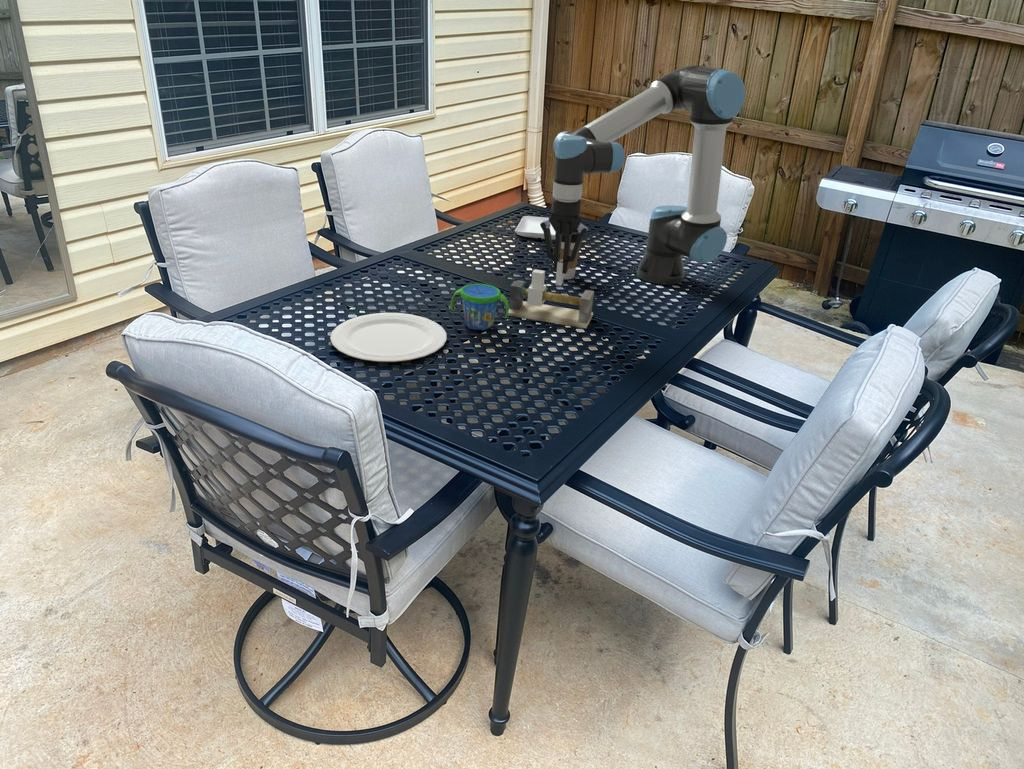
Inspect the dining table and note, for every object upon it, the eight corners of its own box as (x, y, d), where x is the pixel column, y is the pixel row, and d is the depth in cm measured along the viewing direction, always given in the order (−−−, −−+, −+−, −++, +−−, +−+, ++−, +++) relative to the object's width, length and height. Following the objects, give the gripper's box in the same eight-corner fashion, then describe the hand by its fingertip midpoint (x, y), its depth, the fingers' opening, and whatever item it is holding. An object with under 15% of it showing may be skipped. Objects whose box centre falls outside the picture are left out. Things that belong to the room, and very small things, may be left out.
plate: (396, 379, 170) (396, 372, 170) (305, 345, 183) (305, 338, 182) (469, 338, 193) (469, 331, 192) (383, 309, 206) (383, 303, 205)
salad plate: (513, 239, 270) (514, 229, 268) (523, 223, 288) (523, 214, 287) (571, 245, 267) (572, 236, 265) (577, 229, 286) (577, 220, 284)
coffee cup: (568, 282, 232) (573, 236, 225) (546, 276, 236) (550, 230, 229) (583, 276, 238) (588, 230, 231) (561, 269, 242) (565, 225, 235)
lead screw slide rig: (593, 315, 210) (596, 289, 206) (586, 328, 202) (589, 302, 198) (515, 302, 215) (517, 277, 211) (505, 314, 207) (507, 288, 203)
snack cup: (512, 323, 202) (514, 288, 197) (500, 338, 193) (502, 302, 188) (459, 313, 206) (460, 279, 201) (444, 328, 197) (445, 292, 192)
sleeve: (545, 300, 209) (547, 269, 205) (540, 306, 205) (543, 275, 201) (531, 298, 210) (533, 267, 206) (527, 304, 206) (529, 273, 202)
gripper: (594, 198, 194) (585, 282, 205) (546, 192, 197) (540, 275, 208) (588, 205, 188) (579, 292, 199) (538, 198, 191) (532, 284, 202)
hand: (559, 283), depth 204 cm, fingers closed
